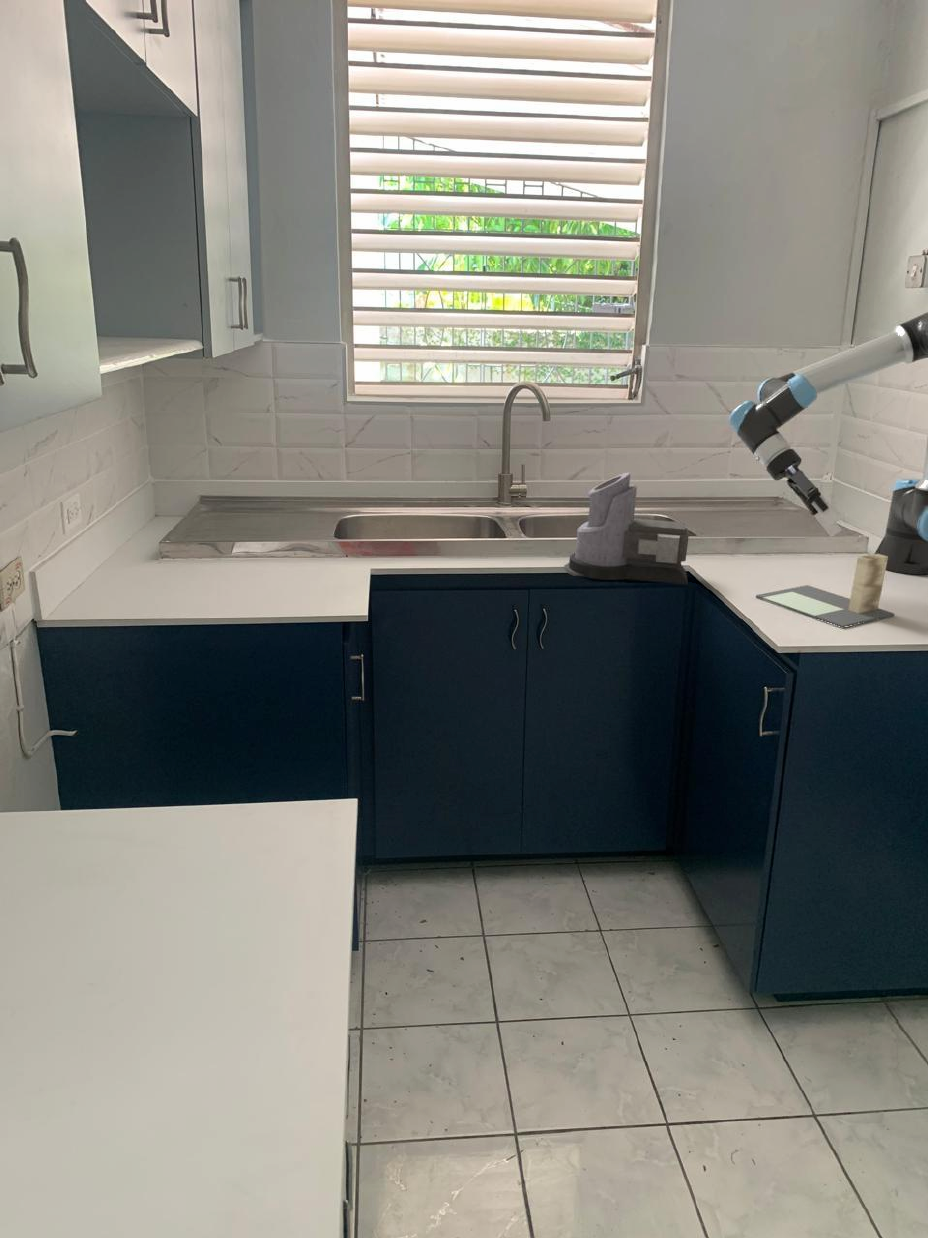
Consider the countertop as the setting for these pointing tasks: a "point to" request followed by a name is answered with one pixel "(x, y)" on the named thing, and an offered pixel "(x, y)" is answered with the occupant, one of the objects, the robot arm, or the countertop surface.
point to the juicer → (627, 540)
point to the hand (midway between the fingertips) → (836, 528)
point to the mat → (821, 605)
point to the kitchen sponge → (868, 583)
